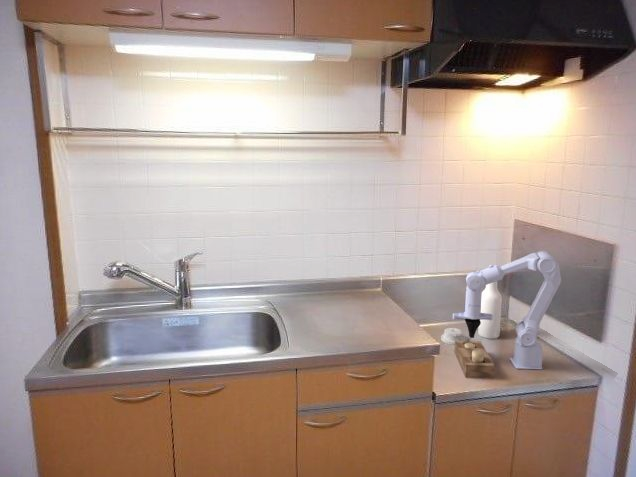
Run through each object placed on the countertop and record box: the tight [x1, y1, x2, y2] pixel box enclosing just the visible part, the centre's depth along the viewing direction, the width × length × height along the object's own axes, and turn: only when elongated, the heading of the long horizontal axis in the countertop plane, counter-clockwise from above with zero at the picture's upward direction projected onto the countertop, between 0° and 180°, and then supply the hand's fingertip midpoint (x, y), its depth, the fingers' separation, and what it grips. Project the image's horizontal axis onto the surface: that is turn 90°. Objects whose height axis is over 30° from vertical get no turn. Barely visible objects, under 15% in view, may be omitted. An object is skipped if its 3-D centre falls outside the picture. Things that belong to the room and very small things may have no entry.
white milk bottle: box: [477, 281, 503, 340], centre depth 196 cm, size 9×9×30 cm
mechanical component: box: [440, 327, 466, 346], centre depth 196 cm, size 10×4×10 cm
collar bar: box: [453, 340, 496, 379], centre depth 174 cm, size 10×20×5 cm, turn 175°
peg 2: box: [472, 350, 484, 363], centre depth 168 cm, size 4×4×5 cm
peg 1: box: [465, 343, 475, 348], centre depth 180 cm, size 4×4×5 cm
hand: (471, 336), depth 177 cm, fingers closed
